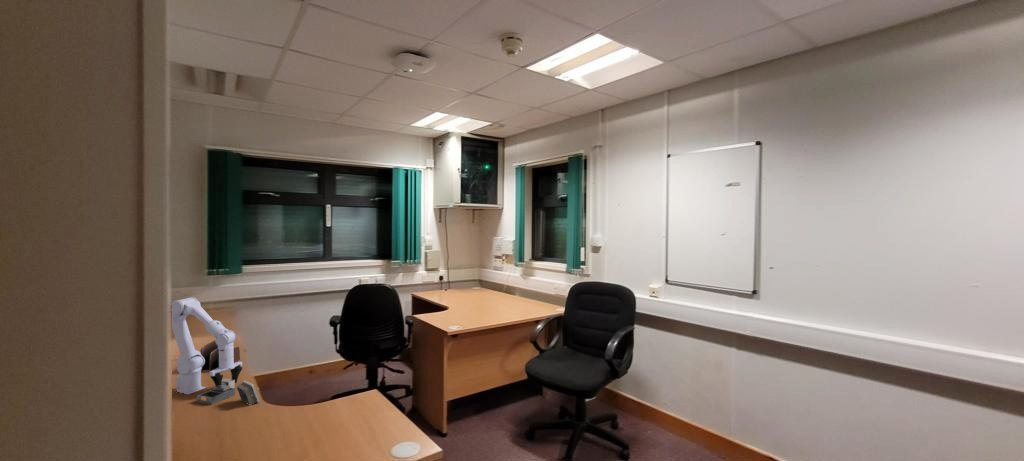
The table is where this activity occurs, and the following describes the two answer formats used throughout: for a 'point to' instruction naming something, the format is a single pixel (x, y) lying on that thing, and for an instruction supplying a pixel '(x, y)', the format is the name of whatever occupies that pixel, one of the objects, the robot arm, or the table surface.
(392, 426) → the table surface
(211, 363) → the letter holder
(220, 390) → the rack
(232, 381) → the grey block
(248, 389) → the electrical switch
